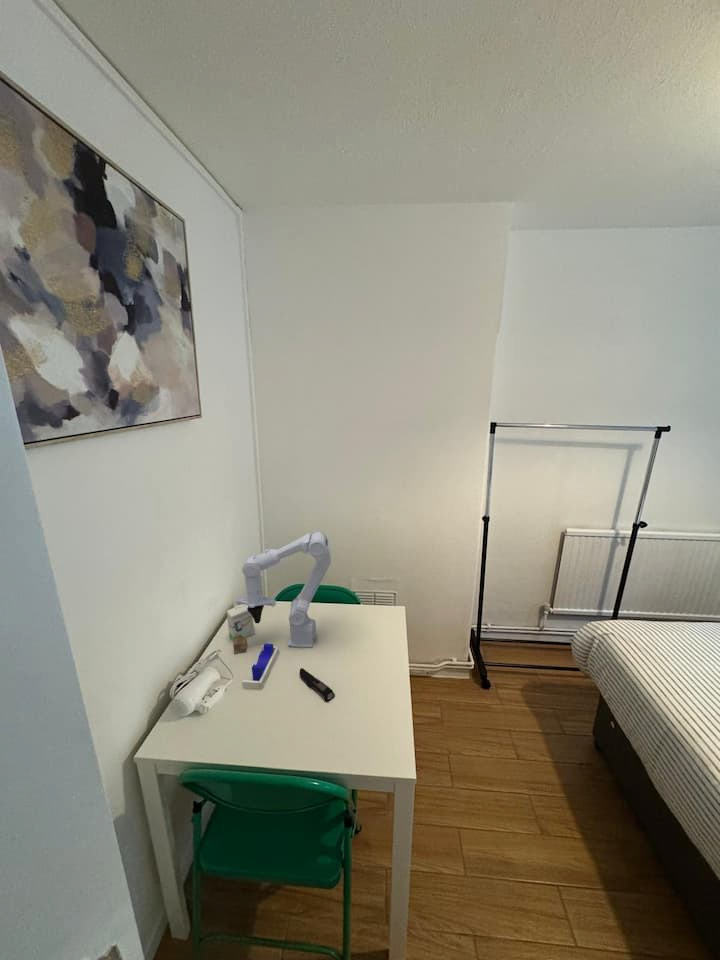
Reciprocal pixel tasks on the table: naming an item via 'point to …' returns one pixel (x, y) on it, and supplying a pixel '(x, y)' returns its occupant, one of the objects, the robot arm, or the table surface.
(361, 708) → the table surface
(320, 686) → the electric trimmer
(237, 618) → the ink box
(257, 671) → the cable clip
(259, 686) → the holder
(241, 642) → the walnut block
